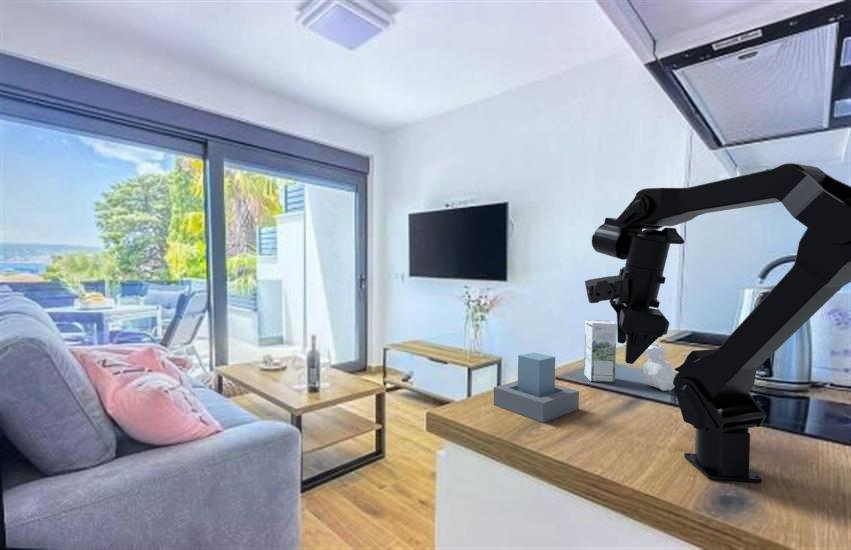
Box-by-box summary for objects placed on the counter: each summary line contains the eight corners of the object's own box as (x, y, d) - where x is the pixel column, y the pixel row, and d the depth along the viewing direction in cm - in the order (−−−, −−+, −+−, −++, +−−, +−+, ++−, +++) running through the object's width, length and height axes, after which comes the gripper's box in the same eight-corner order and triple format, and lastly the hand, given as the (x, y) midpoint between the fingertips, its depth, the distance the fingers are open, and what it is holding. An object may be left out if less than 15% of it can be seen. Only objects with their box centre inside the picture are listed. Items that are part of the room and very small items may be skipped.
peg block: (554, 408, 79) (555, 356, 78) (538, 413, 75) (539, 360, 75) (533, 401, 82) (534, 352, 82) (517, 406, 79) (518, 355, 79)
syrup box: (607, 376, 102) (608, 319, 101) (615, 383, 96) (617, 322, 95) (583, 375, 102) (584, 318, 102) (590, 382, 96) (592, 322, 96)
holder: (578, 409, 78) (579, 391, 78) (542, 422, 71) (543, 403, 71) (529, 393, 87) (530, 377, 87) (493, 404, 80) (493, 387, 80)
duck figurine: (662, 389, 99) (632, 349, 103) (692, 375, 95) (659, 334, 99) (652, 402, 89) (619, 357, 94) (684, 386, 85) (649, 340, 90)
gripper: (588, 250, 78) (574, 326, 82) (598, 269, 60) (578, 364, 64) (652, 259, 75) (634, 337, 79) (681, 281, 57) (656, 380, 61)
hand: (624, 352), depth 71 cm, fingers open, 9 cm apart
